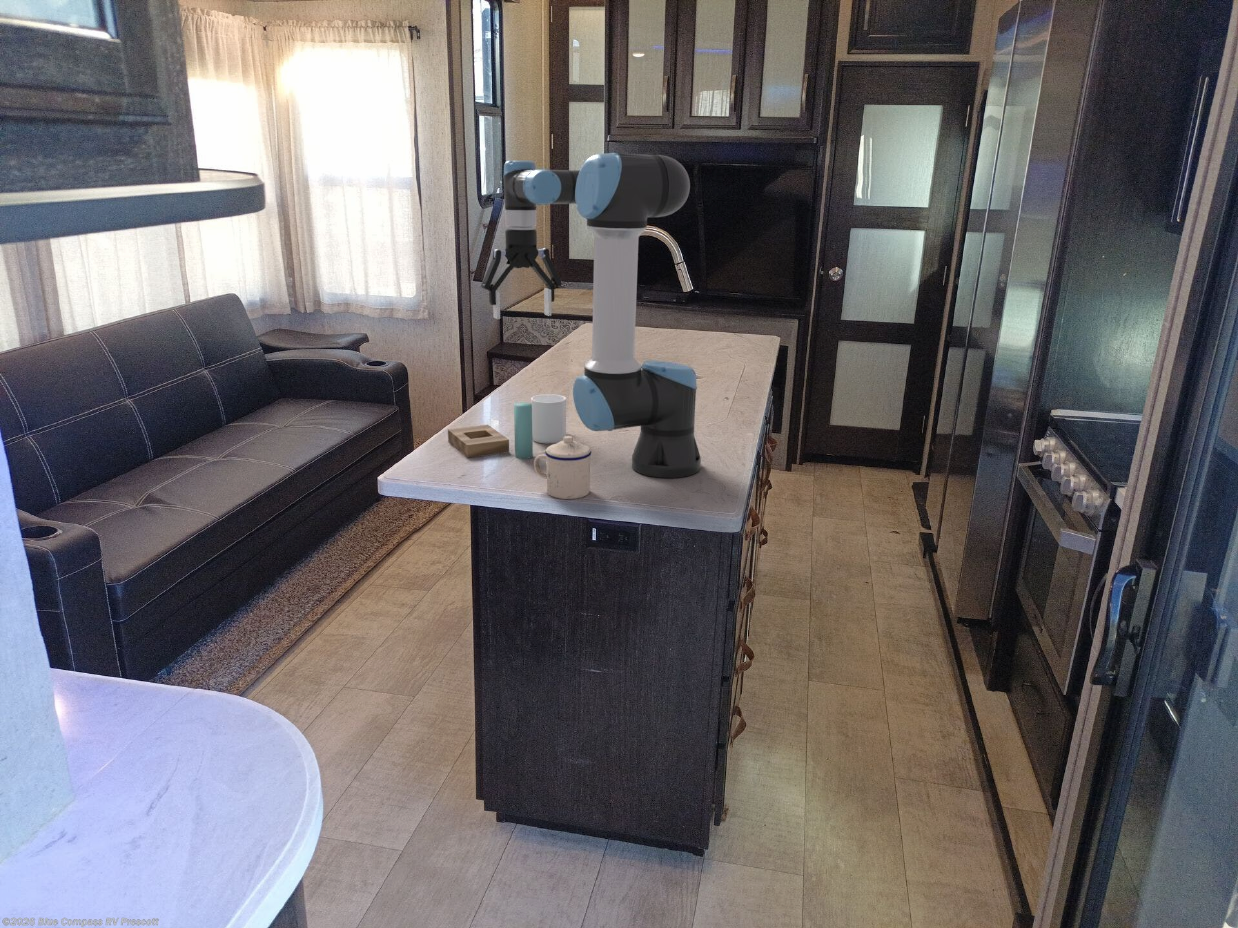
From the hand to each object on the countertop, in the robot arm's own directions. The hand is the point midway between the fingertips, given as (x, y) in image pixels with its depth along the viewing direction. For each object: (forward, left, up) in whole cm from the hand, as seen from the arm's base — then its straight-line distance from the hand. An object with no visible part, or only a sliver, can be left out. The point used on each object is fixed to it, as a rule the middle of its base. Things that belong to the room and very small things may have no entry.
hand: (522, 316), depth 217 cm
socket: (-16, +18, -27) cm, 36 cm away
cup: (-16, -1, -27) cm, 31 cm away
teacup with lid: (-52, +13, -27) cm, 60 cm away
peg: (-27, +11, -27) cm, 40 cm away
